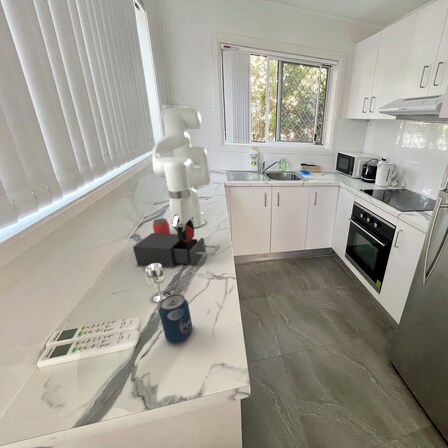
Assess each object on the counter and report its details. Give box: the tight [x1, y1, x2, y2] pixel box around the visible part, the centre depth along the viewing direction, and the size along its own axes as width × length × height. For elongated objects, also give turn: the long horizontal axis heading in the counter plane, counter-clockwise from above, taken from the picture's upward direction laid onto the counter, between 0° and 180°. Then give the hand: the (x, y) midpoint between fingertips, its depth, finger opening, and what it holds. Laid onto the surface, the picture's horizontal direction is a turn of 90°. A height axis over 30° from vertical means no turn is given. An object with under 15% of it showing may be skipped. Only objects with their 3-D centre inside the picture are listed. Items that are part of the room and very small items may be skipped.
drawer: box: [171, 237, 221, 267], centre depth 102 cm, size 21×12×7 cm, turn 88°
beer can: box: [152, 218, 172, 234], centre depth 114 cm, size 7×7×12 cm
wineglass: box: [144, 263, 169, 303], centre depth 80 cm, size 6×6×12 cm
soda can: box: [158, 293, 194, 345], centre depth 66 cm, size 7×7×12 cm
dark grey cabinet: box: [132, 232, 181, 269], centre depth 103 cm, size 15×13×9 cm
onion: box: [183, 225, 195, 242], centre depth 99 cm, size 6×6×8 cm
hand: (186, 235), depth 100 cm, fingers closed on onion, 5 cm apart
